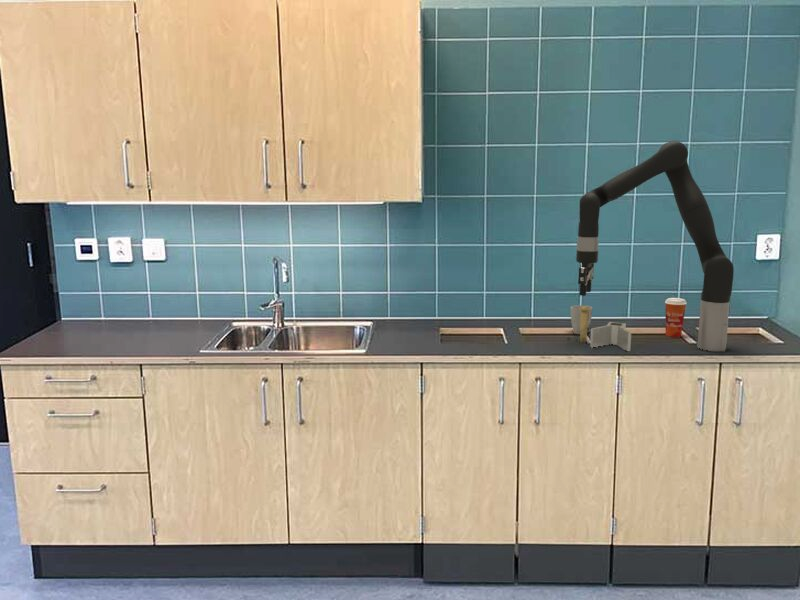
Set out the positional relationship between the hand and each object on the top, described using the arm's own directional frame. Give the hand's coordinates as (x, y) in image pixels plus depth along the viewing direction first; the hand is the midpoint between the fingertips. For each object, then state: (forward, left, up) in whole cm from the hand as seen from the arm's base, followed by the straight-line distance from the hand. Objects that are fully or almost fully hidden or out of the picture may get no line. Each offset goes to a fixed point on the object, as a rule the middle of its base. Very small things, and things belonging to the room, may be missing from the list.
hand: (585, 293), depth 262 cm
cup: (+4, -14, -18) cm, 23 cm away
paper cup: (-29, -24, -18) cm, 42 cm away
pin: (0, 0, -18) cm, 18 cm away
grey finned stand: (-11, +1, -18) cm, 21 cm away
